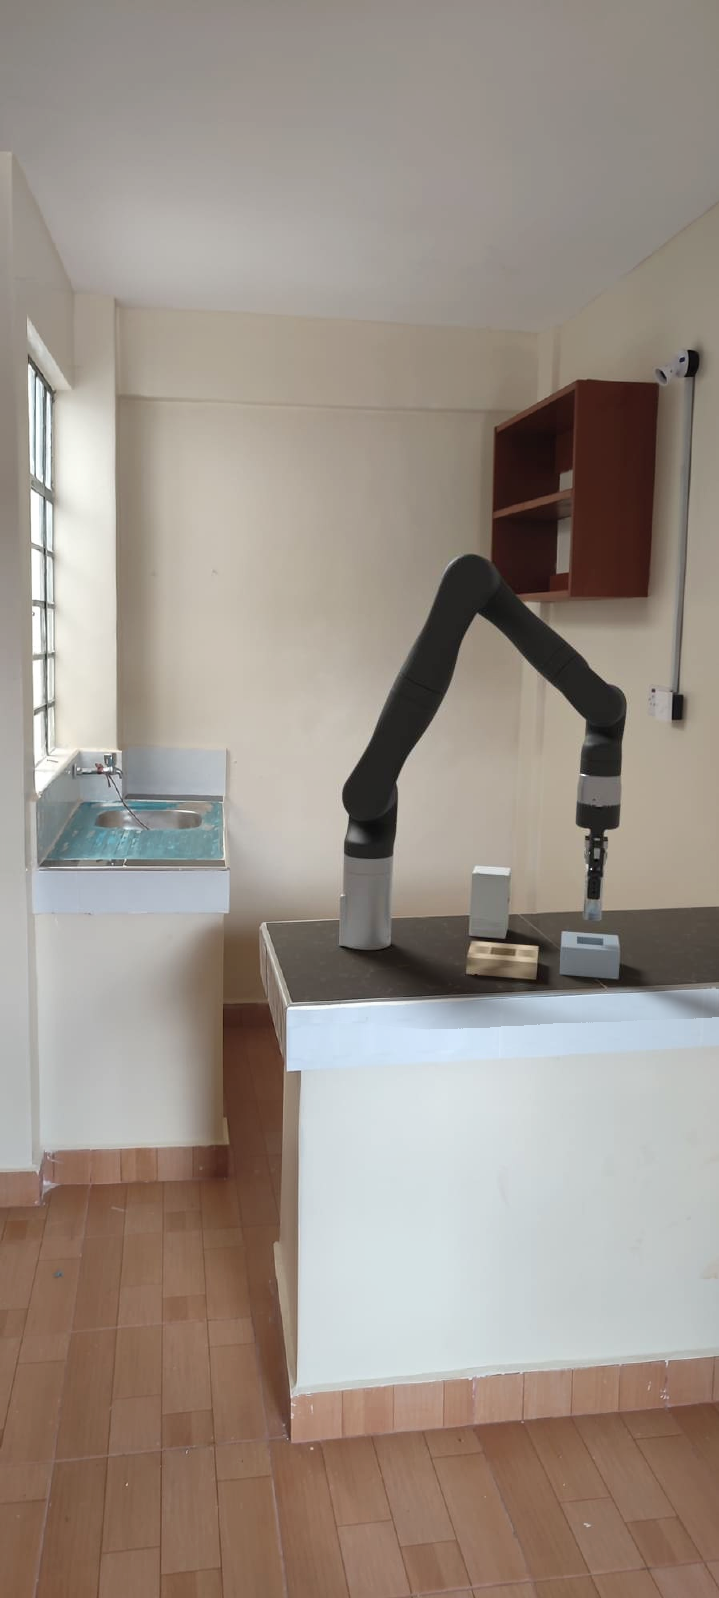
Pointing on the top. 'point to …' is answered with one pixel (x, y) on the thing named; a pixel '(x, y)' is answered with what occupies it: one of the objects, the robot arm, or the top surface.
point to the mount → (502, 960)
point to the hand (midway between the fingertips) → (593, 896)
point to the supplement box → (489, 901)
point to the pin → (592, 907)
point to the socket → (590, 955)
